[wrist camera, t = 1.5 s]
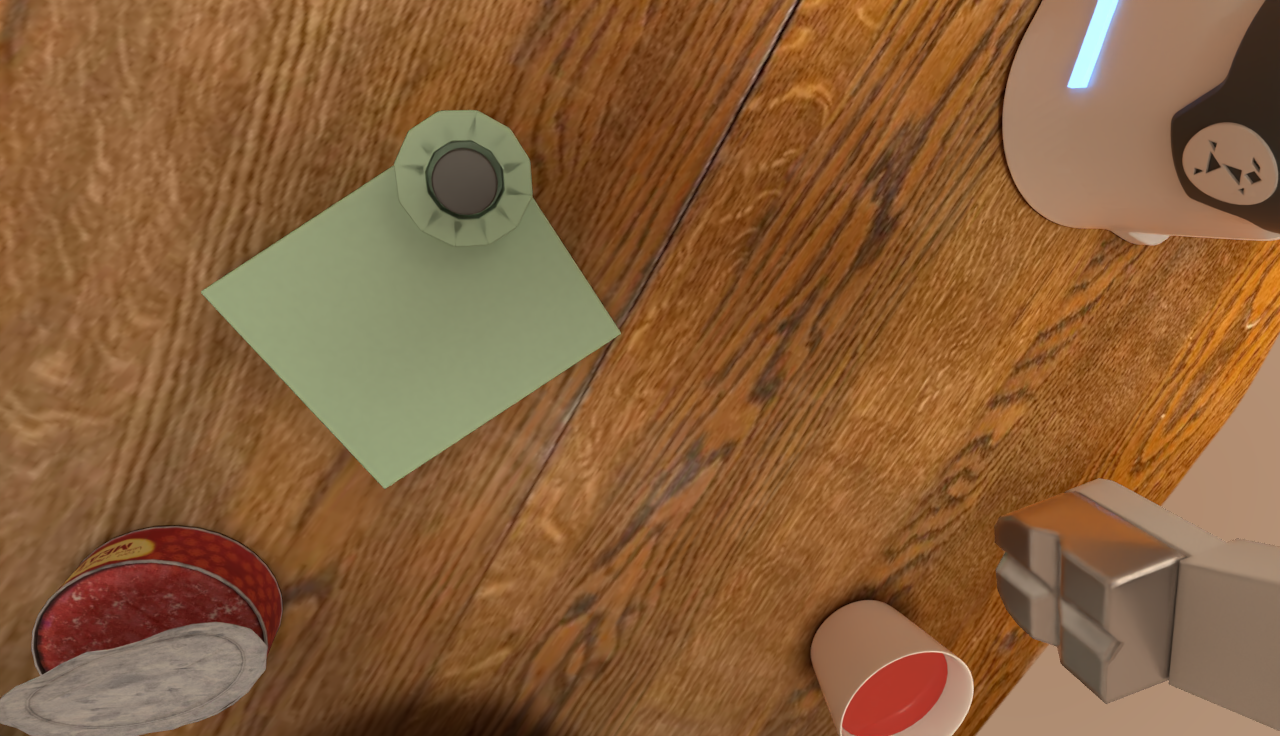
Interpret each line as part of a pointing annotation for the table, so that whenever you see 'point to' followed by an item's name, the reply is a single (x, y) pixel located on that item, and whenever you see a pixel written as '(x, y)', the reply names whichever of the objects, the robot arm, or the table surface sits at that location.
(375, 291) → the scale
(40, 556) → the table surface
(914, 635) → the cup with red liquid
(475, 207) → the button
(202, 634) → the canned food
